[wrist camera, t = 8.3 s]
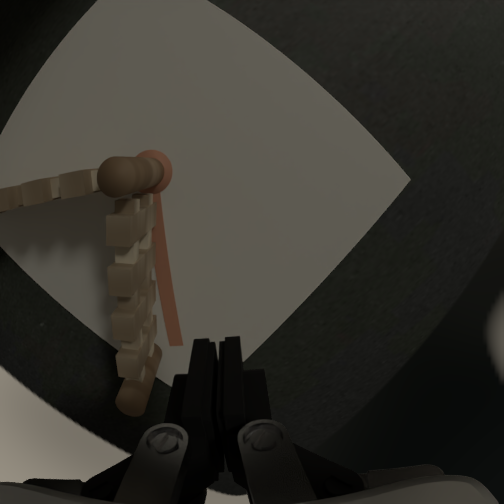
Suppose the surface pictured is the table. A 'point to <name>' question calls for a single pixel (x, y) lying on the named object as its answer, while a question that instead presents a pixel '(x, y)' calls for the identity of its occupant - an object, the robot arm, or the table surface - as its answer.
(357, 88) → the table surface
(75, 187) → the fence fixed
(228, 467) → the robot arm
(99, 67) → the card
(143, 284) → the fence gate
